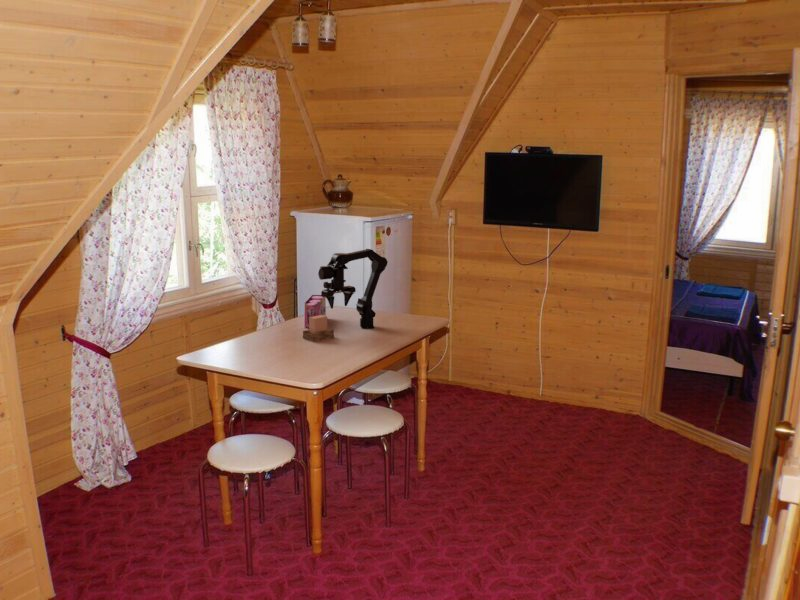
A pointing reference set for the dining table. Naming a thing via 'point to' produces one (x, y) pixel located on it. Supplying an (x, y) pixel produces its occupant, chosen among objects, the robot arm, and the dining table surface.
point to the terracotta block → (317, 324)
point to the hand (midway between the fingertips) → (338, 307)
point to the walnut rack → (318, 335)
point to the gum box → (314, 307)
